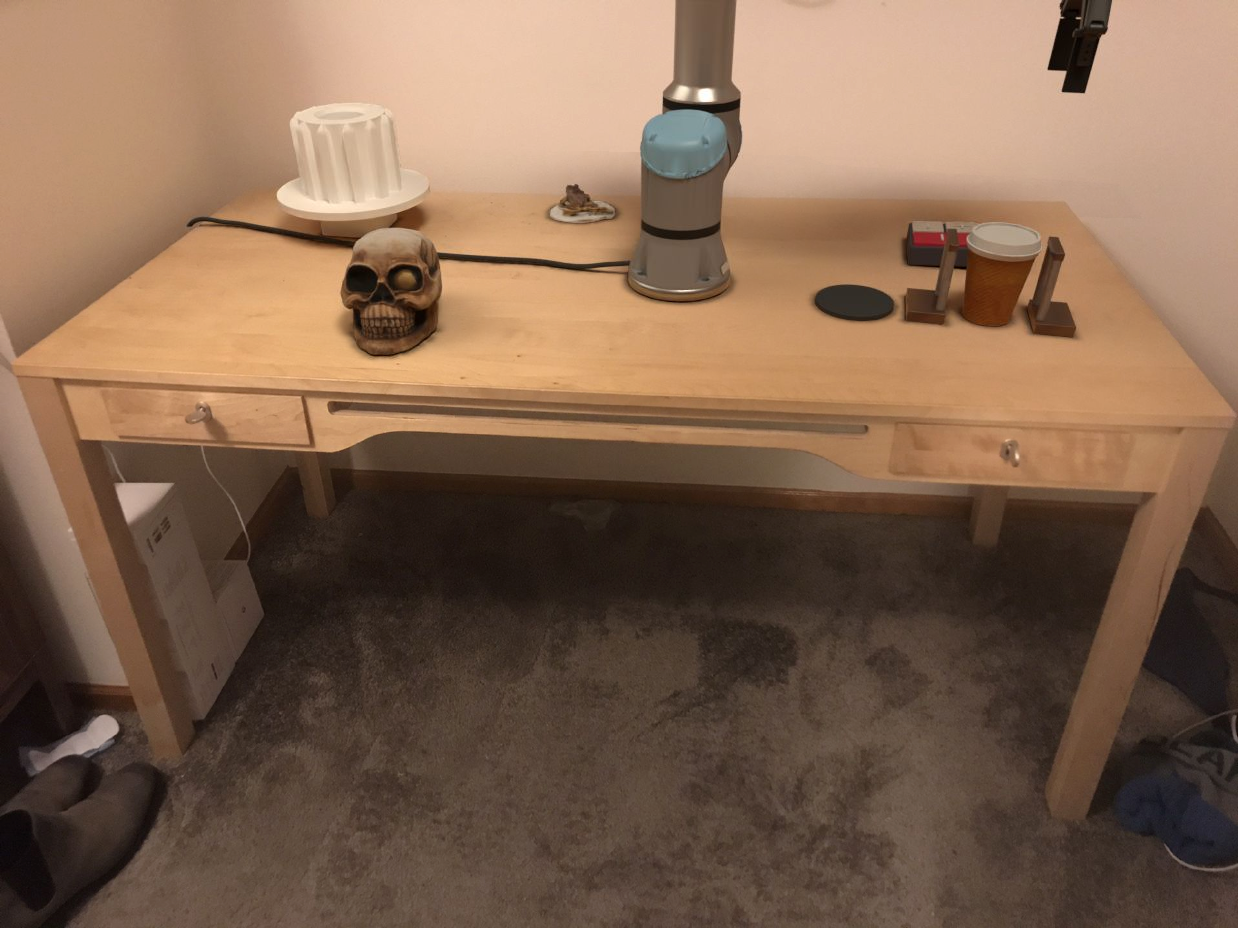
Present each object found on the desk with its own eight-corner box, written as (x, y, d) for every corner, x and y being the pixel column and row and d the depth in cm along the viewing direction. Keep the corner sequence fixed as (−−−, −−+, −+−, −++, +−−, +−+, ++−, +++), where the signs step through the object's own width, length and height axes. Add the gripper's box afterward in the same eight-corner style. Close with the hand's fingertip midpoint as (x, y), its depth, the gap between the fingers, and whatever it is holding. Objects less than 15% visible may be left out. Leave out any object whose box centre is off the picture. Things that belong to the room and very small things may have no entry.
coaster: (812, 316, 126) (812, 312, 125) (817, 285, 135) (818, 281, 134) (893, 324, 124) (894, 320, 123) (893, 292, 132) (894, 288, 132)
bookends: (906, 320, 124) (920, 244, 118) (905, 297, 131) (919, 223, 124) (1073, 337, 120) (1097, 259, 114) (1064, 312, 126) (1087, 237, 120)
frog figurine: (538, 207, 164) (536, 186, 161) (598, 198, 168) (597, 177, 165) (561, 227, 155) (560, 205, 153) (624, 217, 159) (624, 195, 157)
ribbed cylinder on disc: (404, 258, 144) (386, 137, 133) (258, 250, 147) (229, 131, 136) (452, 206, 164) (440, 97, 153) (323, 200, 168) (302, 93, 157)
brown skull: (375, 360, 115) (355, 257, 109) (325, 326, 128) (305, 232, 121) (481, 330, 123) (469, 233, 117) (425, 301, 136) (411, 212, 129)
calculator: (908, 218, 147) (1006, 220, 144) (905, 243, 150) (1001, 246, 146) (910, 242, 138) (1014, 245, 135) (907, 268, 141) (1009, 272, 138)
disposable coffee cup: (952, 328, 123) (971, 243, 116) (948, 299, 130) (966, 218, 123) (1026, 335, 121) (1050, 249, 114) (1017, 305, 128) (1040, 223, 121)
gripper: (1173, -101, 98) (1113, 104, 110) (1126, -111, 117) (1080, 63, 130) (1099, -101, 99) (1047, 101, 111) (1065, -112, 119) (1024, 61, 131)
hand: (1065, 81), depth 120 cm, fingers open, 13 cm apart
